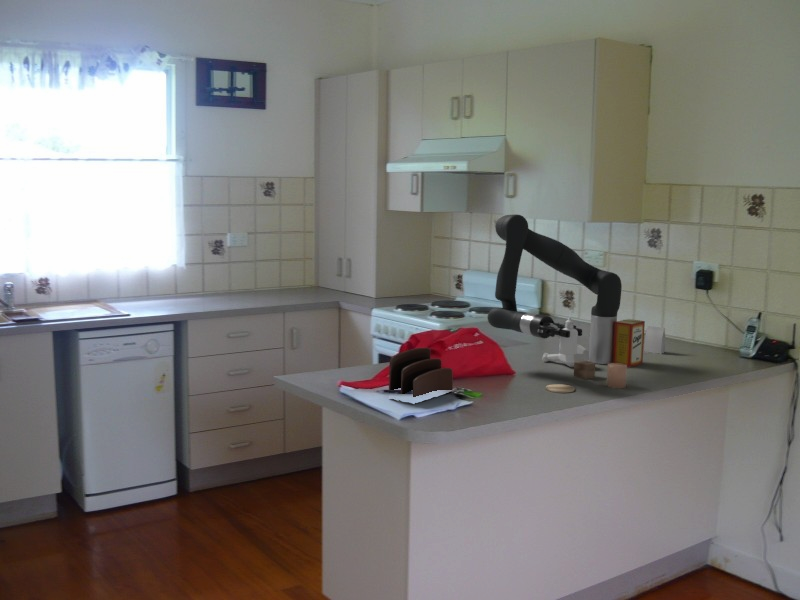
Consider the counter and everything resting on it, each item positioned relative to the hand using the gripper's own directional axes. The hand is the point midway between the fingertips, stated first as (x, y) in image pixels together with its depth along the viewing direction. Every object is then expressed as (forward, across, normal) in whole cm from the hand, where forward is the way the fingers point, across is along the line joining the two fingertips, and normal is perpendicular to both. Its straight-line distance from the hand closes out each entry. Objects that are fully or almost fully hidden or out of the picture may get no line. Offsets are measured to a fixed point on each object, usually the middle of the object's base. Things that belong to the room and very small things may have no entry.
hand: (575, 333), depth 278 cm
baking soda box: (-13, +44, +18) cm, 49 cm away
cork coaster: (0, -5, +18) cm, 18 cm away
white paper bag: (-21, +70, +18) cm, 75 cm away
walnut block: (-8, +15, +18) cm, 25 cm away
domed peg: (+7, +14, +18) cm, 23 cm away
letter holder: (-19, -47, +18) cm, 54 cm away
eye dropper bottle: (-3, 0, +7) cm, 8 cm away
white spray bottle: (-25, +23, +18) cm, 38 cm away
